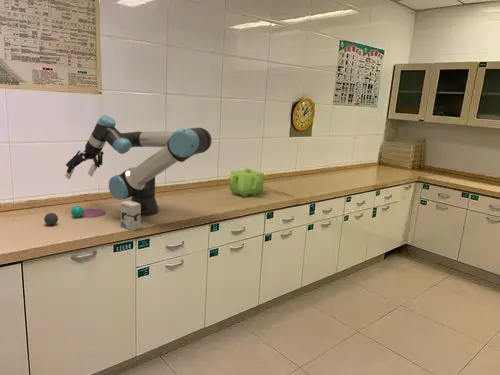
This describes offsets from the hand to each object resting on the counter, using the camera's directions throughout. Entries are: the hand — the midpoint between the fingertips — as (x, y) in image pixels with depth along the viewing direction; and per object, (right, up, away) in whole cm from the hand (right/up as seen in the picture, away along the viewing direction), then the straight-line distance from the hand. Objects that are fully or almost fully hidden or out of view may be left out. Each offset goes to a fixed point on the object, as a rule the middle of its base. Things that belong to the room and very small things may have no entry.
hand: (78, 176), depth 194 cm
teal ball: (+4, -17, -11) cm, 21 cm away
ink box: (+32, -24, -19) cm, 45 cm away
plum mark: (+7, -19, -3) cm, 20 cm away
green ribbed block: (+85, -11, +54) cm, 101 cm away
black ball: (-2, -20, -23) cm, 30 cm away
